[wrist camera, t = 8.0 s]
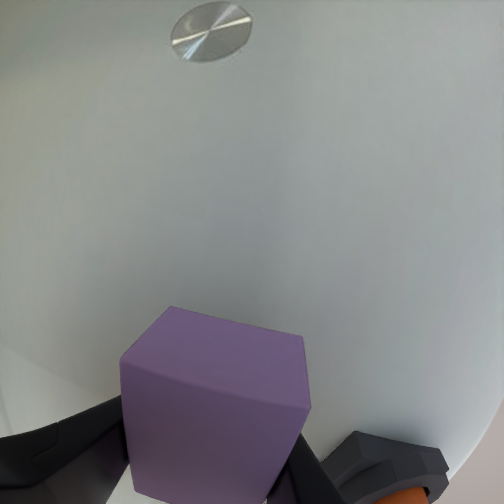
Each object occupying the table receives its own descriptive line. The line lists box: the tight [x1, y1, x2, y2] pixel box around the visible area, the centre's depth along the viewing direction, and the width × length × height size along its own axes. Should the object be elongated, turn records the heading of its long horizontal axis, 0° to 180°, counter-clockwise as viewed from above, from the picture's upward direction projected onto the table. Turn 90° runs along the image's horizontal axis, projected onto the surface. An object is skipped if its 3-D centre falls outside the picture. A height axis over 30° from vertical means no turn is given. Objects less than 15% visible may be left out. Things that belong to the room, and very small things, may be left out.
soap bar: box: [119, 306, 311, 504], centre depth 7 cm, size 6×4×3 cm, turn 169°
